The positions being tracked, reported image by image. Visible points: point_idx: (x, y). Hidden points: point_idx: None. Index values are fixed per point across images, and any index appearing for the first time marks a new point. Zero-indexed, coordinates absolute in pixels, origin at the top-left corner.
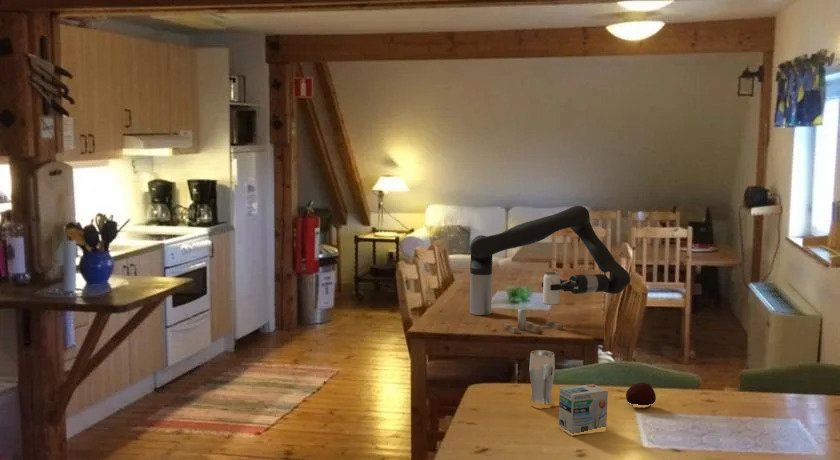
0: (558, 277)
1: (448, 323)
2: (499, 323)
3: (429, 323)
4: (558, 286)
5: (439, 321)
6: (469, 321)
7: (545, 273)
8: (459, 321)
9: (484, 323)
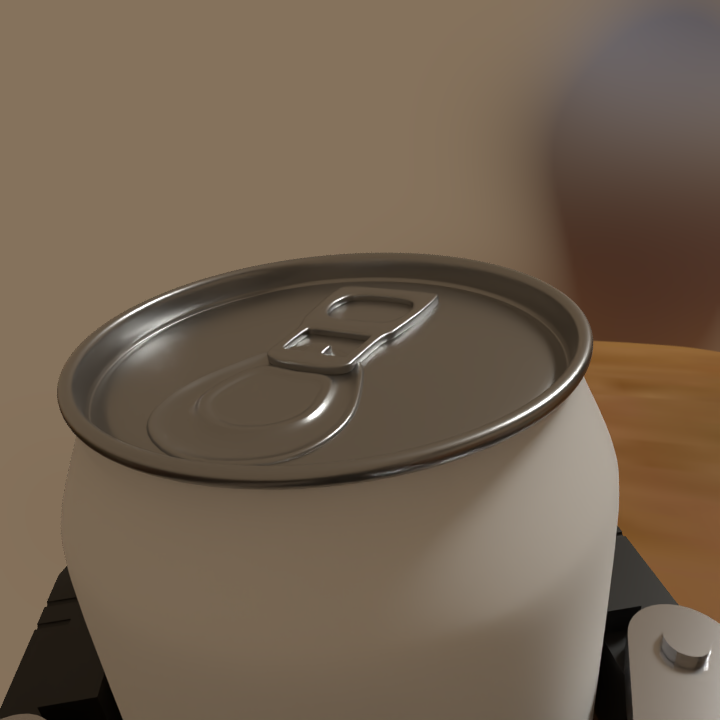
0: (68, 523)
1: (621, 397)
2: (689, 597)
3: (607, 356)
4: (25, 681)
5: (662, 379)
6: (704, 464)
7: (328, 255)
8: (688, 431)
9: (662, 517)
